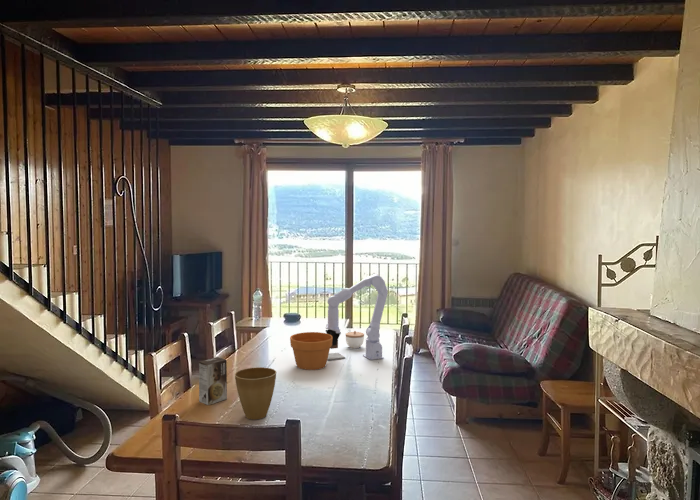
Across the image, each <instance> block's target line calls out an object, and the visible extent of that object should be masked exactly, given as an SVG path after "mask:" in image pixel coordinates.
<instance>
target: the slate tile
mask: <svg viewBox="0 0 700 500" xmlns="http://www.w3.org/2000/svg"><path fill="white" fill-rule="evenodd" d="M336 360H346V356H345V355H342V354H341V353H340V352H331V353H330V352H329V355H328V359H327V361H336Z"/></svg>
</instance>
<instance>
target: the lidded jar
mask: <svg viewBox="0 0 700 500" xmlns="http://www.w3.org/2000/svg"><path fill="white" fill-rule="evenodd" d="M364 341H365V333H364V332H359V331H356V330H353V331H349V332H348V331H347V332H346V333H345V342H346V344H347V346H348V347H349V348H350V349H360V348H361V346H363V344H364ZM359 347H360V348H359Z"/></svg>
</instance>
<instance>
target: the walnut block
mask: <svg viewBox="0 0 700 500" xmlns="http://www.w3.org/2000/svg"><path fill="white" fill-rule="evenodd" d="M333 349H339V341H338V342H337V345H332V346H331V347H330V350H333Z"/></svg>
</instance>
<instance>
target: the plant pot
mask: <svg viewBox="0 0 700 500" xmlns="http://www.w3.org/2000/svg"><path fill="white" fill-rule="evenodd" d="M234 379H235V385H236V389H237V395H238V399H239V402H240V405H241V407H242V410H243V412H244V416H245V418H246V419H248V420H261V419H263V418H266V417H267V414H268V412H269V409H270V406H271V402H272V399H273V395H274V391H275V386H276V379H277V370H275V369H274V368H271V367H270V368H269V367H259V366H258V367H257V366H256V367H248V368H244V369H243V368H242V369H240V370H238V371H236V372H235V373H234Z"/></svg>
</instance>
